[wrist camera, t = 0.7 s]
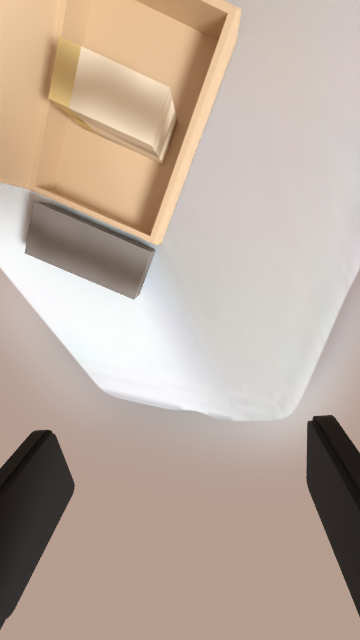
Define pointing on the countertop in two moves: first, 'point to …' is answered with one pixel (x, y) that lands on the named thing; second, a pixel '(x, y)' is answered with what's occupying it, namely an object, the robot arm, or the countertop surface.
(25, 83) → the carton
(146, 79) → the block
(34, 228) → the block
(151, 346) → the countertop surface
